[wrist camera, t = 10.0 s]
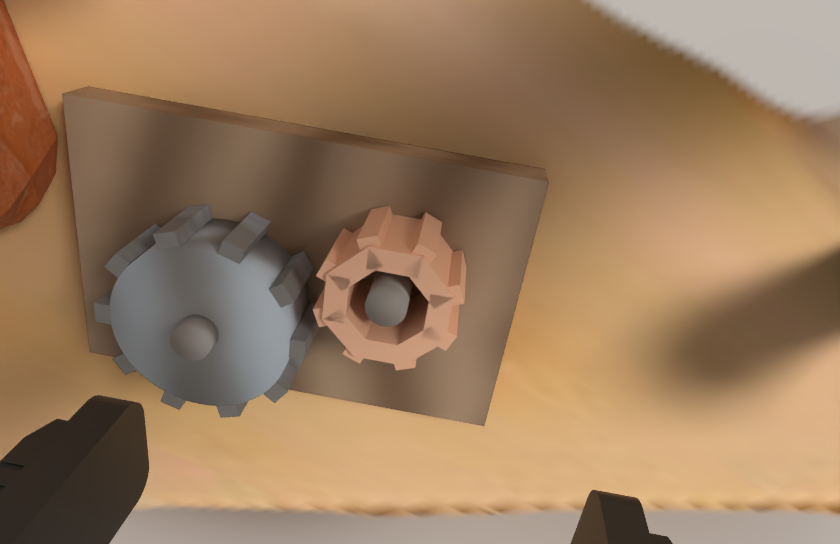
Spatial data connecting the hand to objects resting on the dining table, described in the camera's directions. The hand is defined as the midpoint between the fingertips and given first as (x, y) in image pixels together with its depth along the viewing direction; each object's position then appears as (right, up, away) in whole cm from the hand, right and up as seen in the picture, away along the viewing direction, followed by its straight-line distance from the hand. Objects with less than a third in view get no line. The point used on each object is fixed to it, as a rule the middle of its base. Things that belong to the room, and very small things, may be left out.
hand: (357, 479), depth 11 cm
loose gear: (0, +4, +18) cm, 19 cm away
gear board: (-5, +4, +21) cm, 22 cm away
